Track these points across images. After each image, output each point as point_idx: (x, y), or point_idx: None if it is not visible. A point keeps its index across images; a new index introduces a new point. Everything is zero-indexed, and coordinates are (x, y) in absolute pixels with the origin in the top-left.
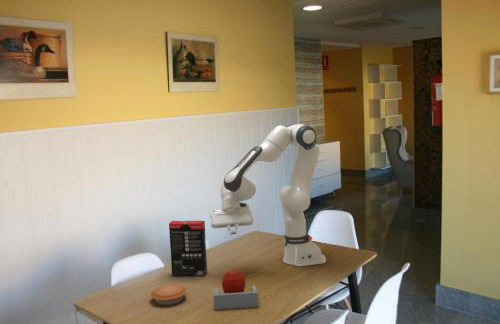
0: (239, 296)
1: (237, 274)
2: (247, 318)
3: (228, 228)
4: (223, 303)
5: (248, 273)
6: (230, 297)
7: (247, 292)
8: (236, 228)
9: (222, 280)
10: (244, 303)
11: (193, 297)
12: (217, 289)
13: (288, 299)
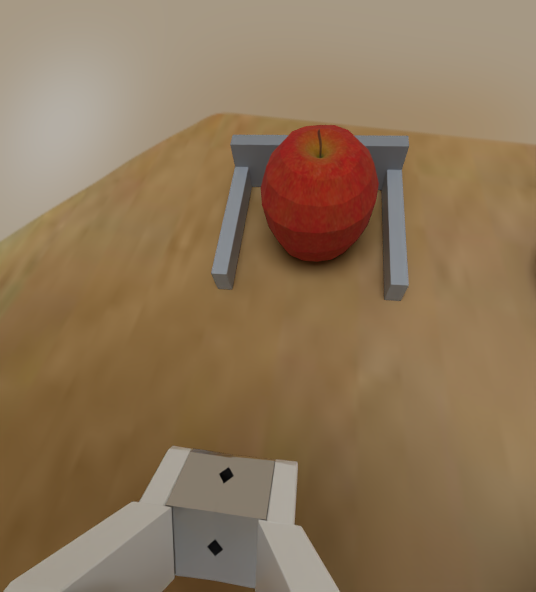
0: None
1: (300, 128)
2: (290, 123)
3: (330, 585)
4: None
5: None
6: None
7: (270, 141)
8: (113, 516)
9: (376, 173)
10: None
11: (504, 293)
12: (394, 266)
13: (128, 206)
